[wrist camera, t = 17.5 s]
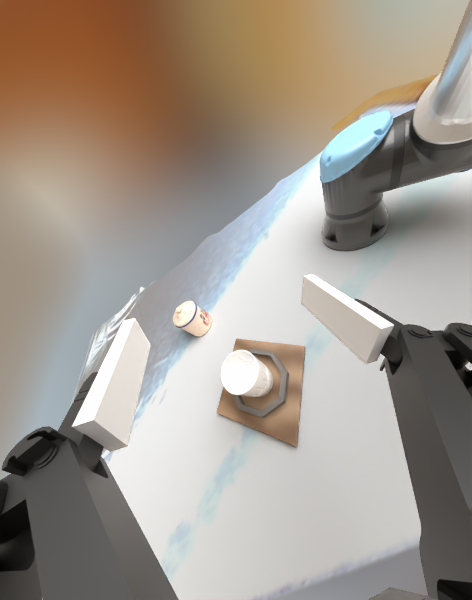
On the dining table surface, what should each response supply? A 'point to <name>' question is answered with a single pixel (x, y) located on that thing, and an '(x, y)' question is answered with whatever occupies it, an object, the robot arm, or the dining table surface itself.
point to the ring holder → (271, 392)
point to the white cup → (246, 375)
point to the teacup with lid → (192, 318)
